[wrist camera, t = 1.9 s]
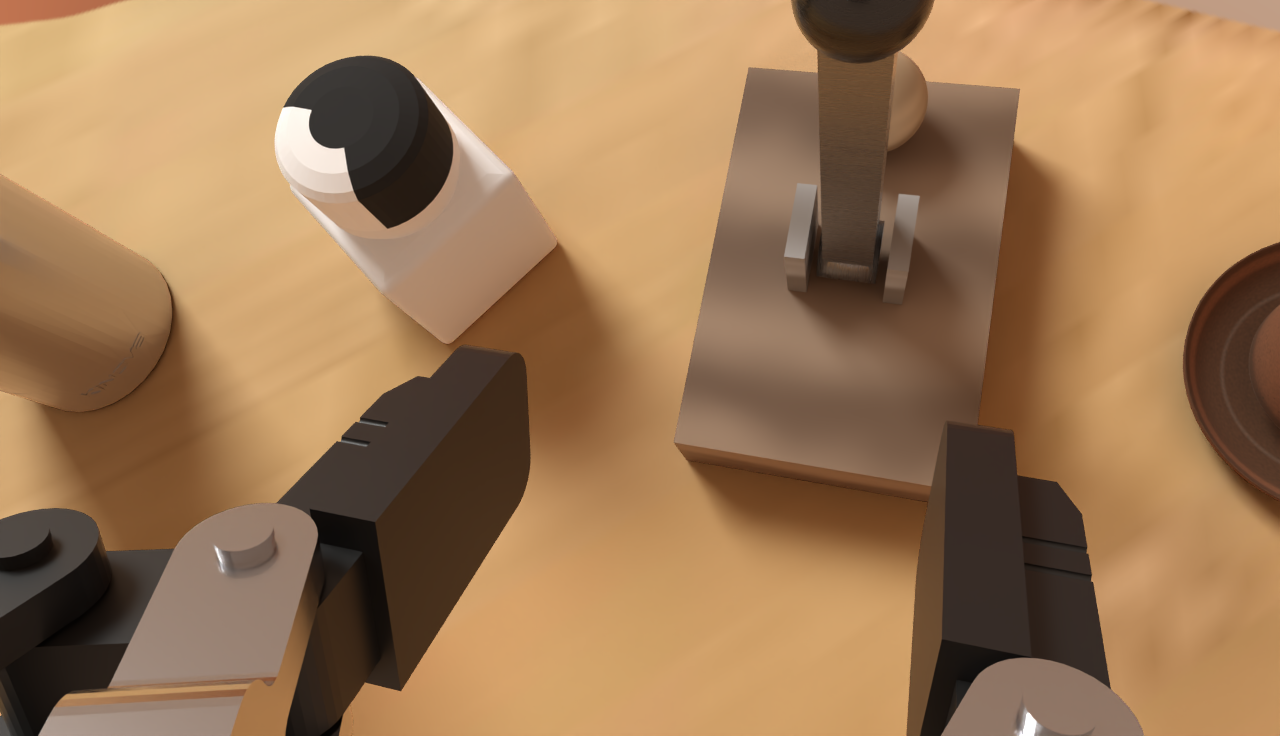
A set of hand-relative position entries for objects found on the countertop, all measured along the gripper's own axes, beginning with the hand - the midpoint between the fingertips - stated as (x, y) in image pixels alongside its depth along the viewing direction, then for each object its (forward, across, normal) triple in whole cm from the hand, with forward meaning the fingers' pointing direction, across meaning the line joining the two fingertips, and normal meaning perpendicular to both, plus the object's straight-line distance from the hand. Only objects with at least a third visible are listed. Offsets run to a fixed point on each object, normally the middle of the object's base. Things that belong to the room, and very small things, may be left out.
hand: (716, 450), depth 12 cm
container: (+33, +20, +14) cm, 41 cm away
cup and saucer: (+33, -20, +14) cm, 41 cm away
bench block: (+33, 0, +13) cm, 36 cm away
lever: (+30, 0, +10) cm, 32 cm away
